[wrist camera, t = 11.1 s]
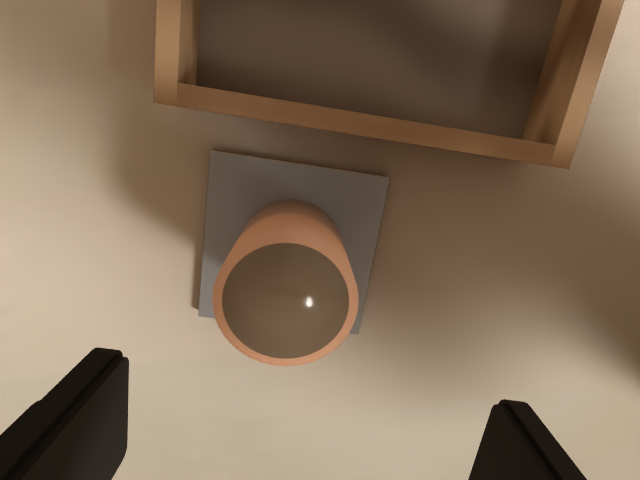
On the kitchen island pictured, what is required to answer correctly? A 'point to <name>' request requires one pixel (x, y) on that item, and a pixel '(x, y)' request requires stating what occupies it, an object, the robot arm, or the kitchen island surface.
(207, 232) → the slate tile
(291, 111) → the box
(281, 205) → the pot
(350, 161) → the kitchen island surface
